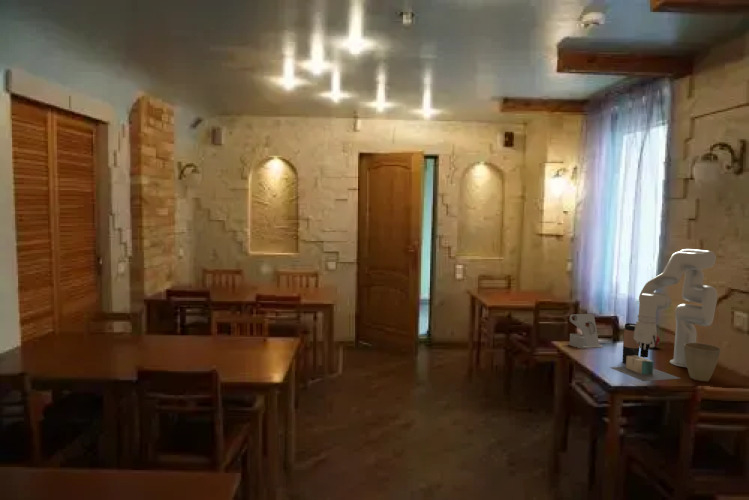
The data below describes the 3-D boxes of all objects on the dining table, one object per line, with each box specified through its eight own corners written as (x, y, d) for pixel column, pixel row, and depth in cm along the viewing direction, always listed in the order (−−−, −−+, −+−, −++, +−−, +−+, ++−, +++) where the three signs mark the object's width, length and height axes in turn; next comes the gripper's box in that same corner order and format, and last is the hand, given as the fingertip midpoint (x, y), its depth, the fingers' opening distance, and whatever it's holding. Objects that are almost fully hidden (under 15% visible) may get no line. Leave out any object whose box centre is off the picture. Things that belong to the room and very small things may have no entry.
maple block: (652, 373, 269) (635, 367, 279) (653, 361, 269) (636, 355, 279) (642, 374, 267) (625, 367, 278) (643, 361, 267) (626, 355, 277)
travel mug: (638, 362, 291) (641, 324, 290) (638, 365, 285) (641, 327, 283) (622, 360, 295) (624, 322, 293) (621, 363, 288) (624, 325, 286)
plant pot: (674, 375, 270) (676, 342, 268) (700, 374, 273) (702, 342, 272) (698, 385, 255) (701, 350, 254) (725, 384, 258) (728, 350, 257)
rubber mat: (645, 366, 284) (645, 365, 284) (680, 379, 263) (681, 378, 263) (609, 368, 277) (609, 367, 277) (643, 382, 256) (643, 381, 256)
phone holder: (578, 348, 317) (580, 317, 315) (567, 344, 326) (569, 313, 325) (603, 347, 322) (605, 316, 321) (591, 343, 332) (593, 313, 331)
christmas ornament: (639, 345, 330) (640, 329, 329) (649, 344, 333) (651, 328, 333) (652, 349, 322) (653, 332, 321) (662, 348, 326) (663, 331, 325)
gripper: (629, 316, 275) (626, 353, 276) (652, 322, 261) (649, 361, 262) (641, 316, 277) (638, 352, 279) (665, 322, 263) (662, 360, 264)
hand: (644, 356), depth 270 cm, fingers closed
